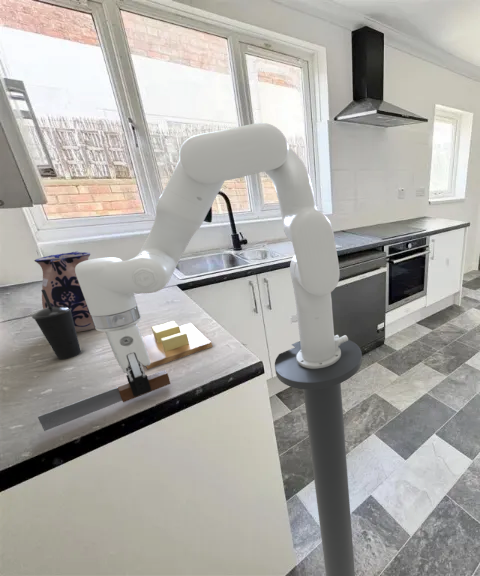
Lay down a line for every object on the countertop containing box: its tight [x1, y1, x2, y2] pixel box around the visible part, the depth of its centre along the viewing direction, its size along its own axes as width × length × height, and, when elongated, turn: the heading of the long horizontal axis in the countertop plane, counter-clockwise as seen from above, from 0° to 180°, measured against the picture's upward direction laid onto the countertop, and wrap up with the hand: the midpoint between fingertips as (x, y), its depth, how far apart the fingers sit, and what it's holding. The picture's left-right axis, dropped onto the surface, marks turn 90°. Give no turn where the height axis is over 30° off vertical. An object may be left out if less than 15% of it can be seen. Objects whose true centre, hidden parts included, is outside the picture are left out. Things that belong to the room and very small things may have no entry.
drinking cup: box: [31, 289, 82, 360], centre depth 86 cm, size 8×8×20 cm
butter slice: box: [161, 331, 189, 352], centre depth 89 cm, size 6×2×4 cm, turn 136°
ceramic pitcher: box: [33, 250, 95, 333], centre depth 104 cm, size 18×21×25 cm
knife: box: [37, 369, 171, 432], centre depth 67 cm, size 21×2×4 cm, turn 136°
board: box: [142, 322, 213, 370], centre depth 93 cm, size 16×20×2 cm
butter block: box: [151, 320, 181, 343], centre depth 95 cm, size 6×6×4 cm
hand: (141, 389), depth 70 cm, fingers closed on knife, 2 cm apart
